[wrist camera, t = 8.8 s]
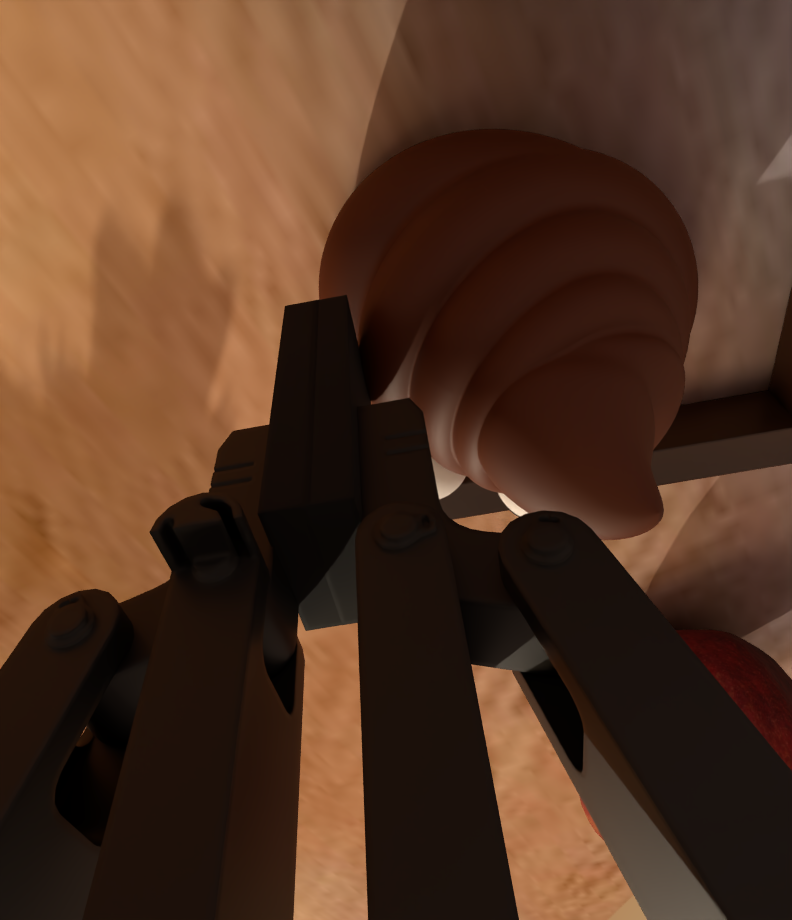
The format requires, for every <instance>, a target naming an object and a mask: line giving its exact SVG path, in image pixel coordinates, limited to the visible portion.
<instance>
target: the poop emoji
mask: <svg viewBox="0 0 792 920" xmlns="http://www.w3.org/2000/svg"><path fill="white" fill-rule="evenodd" d="M342 295H347V298H348V302H349V307H350V311H351V315H352V320H353V324H354V328H355V333H356V337H357V342H358V346H359V351H360V357H361V362H362V367H363V372H364V377H365V381H366V385H367V389H368V393H369V397H370V400H371V404H377V403H382V402H388V401H393V400H399V399H405V398H410V399H411V400H412V401H413V402H414V403H415V404H416V405H417V406H418V407H419V408H420V409H421V410H422V411H423V414H424V420H425V425H426V431H427V436H428V441H429V447H430V452H431V458H432V463H433V469H434V474H435V479H436V485H437V490H438V496H439V499H442V498H444V497H446V496H448V495H450V494H451V493H452V492H454V491H455V490H456V489H457V488H458V487H459V486H460V484H461V483H462V482H463V480H464V479H465V477H466V476H467V477H469V478H470V479H471V480H472V481H473V482H474V483H476V484H477V485H479V486H480V487H482V488H485V489H487V490H490V491H493V492H498V494H499V496H500V498H501V499H502V501H503V502H504V504H505V505H506V507H507V508H508V509H509V510H510V511H511V512H512V513H514V514H515V515H516V516H518V517H520V516H522V515H524V514H527V513H532V512H537V511H542V510H545V511H559V512H564V513H566V514H569V515H572V516H575V517H577V518H579V519H580V520H582V521H583V522H584V523H585V524H587V525H588V526H589V527H590V528H591V529H592V530H593V531H594V532H595V533H596V535H597V536H598V537H599V538H600V539H601V540H617V539H625V538H630V537H634V536H638V535H640V534H643V533H645V532H647V531H649V530H651V529H652V528H654V527H655V526H656V525H657V524H658V523H659V522H660V521H661V519H662V517H663V512H664V508H663V502H662V498H661V495H660V492H659V490H658V487H657V484H656V482H655V479H654V476H653V473H652V470H651V461H652V455H653V450H654V448H655V447H656V446H657V445H658V444H659V442H660V441H661V440H662V438H663V437H664V436H665V434H666V433H667V431H668V430H669V428H670V426H671V425H672V423H673V421H674V419H675V417H676V415H677V412H678V410H679V407H680V404H681V401H682V398H683V393H684V388H685V371H684V366H683V364H684V361H685V357H686V354H687V349H688V344H689V338H690V332H691V329H692V326H693V322H694V318H695V314H696V308H697V299H698V273H697V265H696V259H695V255H694V250H693V247H692V243H691V240H690V237H689V235H688V232H687V230H686V228H685V225H684V223H683V222H682V220H681V218H680V216H679V214H678V213H677V211H676V209H675V208H674V206H673V205H672V204H671V202H670V201H669V200H668V198H667V197H666V196H665V195H664V194H663V192H662V191H661V190H660V189H659V188H658V187H657V186H656V185H655V184H654V183H653V182H651V181H650V180H649V179H648V178H647V177H645V176H644V175H643V174H641V173H640V172H639V171H637V170H636V169H634V168H632V167H631V166H629V165H627V164H625V163H623V162H621V161H620V160H617V159H615V158H613V157H610V156H607V155H605V154H602V153H598V152H595V151H591V150H586V149H581V148H579V147H577V146H574V145H572V144H570V143H567V142H564V141H561V140H558V139H555V138H552V137H548V136H544V135H540V134H536V133H530V132H524V131H517V130H507V129H479V130H469V131H462V132H456V133H451V134H447V135H443V136H439V137H436V138H432V139H430V140H427V141H424V142H422V143H419V144H417V145H414V146H412V147H410V148H408V149H406V150H404V151H402V152H401V153H399V154H397V155H396V156H394V157H392V158H391V159H389V160H388V161H386V162H385V163H384V164H382V165H381V166H380V167H378V168H377V169H376V170H375V171H374V172H372V173H371V174H370V175H369V176H368V177H367V178H366V179H365V180H364V181H363V182H362V183H361V184H360V185H359V186H358V187H357V189H356V190H355V191H354V192H353V193H352V195H351V196H350V197H349V199H348V200H347V201H346V203H345V204H344V206H343V207H342V209H341V211H340V212H339V214H338V216H337V218H336V220H335V222H334V224H333V226H332V228H331V230H330V233H329V236H328V238H327V241H326V244H325V247H324V251H323V255H322V260H321V266H320V274H319V300H321V299H326V298H331V297H337V296H342Z"/></svg>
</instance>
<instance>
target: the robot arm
mask: <svg viewBox="0 0 792 920" xmlns="http://www.w3.org/2000/svg"><path fill="white" fill-rule="evenodd" d="M214 470H215V472H214V473H213V476H212V481H211V488H210V490H209V493H201V494H197V495H194V496H191V497H187V498H185V499H183V500H181V501H179V502H178V503H176V504H174V505H172V506H171V507H169V508H168V509H167V510H166V511H165V512H164V513H163V514H162V515H161V516H160V517H158V518H157V520H156V521H155V523H154V525H153V527H152V529H151V530H150V534H151V536H152V537H153V539H154V541H155V543H156V544H157V546H158V548H159V550H160V552H161V553H162V555H163V557H164V559H165V560H166V562H167V564H168V566H169V567H170V569H171V571H172V572H171V576H170V580H168V581H167V582H166V583H164V584H162V585H160V586H158V587H156V588H154V589H152V590H150V591H147V592H145V593H143V594H140V595H138V596H136V597H133V598H131V599H129V600H126V601H124V602H122V603H118V602H117V600H116V599H115V598H114V597H113V596H112V595H111V594H110V593H109V592H106V591H102V590H98V589H91V590H83V591H78V592H75V593H73V594H71V595H68V596H66V597H63V598H61V599H60V600H58V601H57V602H55V603H54V604H52V605H51V606H50V607H48V608H47V609H45V610H44V611H43V612H42V613H41V614H40V616H39V617H38V618H37V619H36V620H35V621H34V622H33V623H32V624H31V626H30V627H29V629H28V630H27V632H26V633H25V635H24V636H23V637H22V639H21V640H20V642H19V643H18V645H17V646H16V648H15V649H14V650H13V652H12V653H11V655H10V656H9V658H8V659H7V661H6V662H5V663H4V665H3V666H2V668H1V669H0V920H293V914H294V891H295V869H296V846H297V824H298V801H299V779H300V756H301V734H302V711H303V689H304V666H305V659H304V654H303V649H302V646H301V644H300V642H299V639H298V637H297V627H298V613H299V615H300V618H301V620H302V623H303V625H304V627H305V630H306V631H308V630H314V629H320V628H326V627H332V626H338V625H346V624H352V623H358V645H359V673H360V701H361V730H362V758H363V786H364V815H365V843H366V871H367V900H368V920H519V917H518V912H517V907H516V901H515V896H514V891H513V885H512V880H511V875H510V869H509V864H508V859H507V853H506V848H505V843H504V837H503V832H502V827H501V821H500V816H499V810H498V805H497V800H496V794H495V789H494V784H493V778H492V773H491V768H490V762H489V757H488V752H487V746H486V741H485V736H484V730H483V725H482V720H481V714H480V709H479V704H478V698H477V693H476V688H475V682H474V677H473V672H472V666H471V664H473V665H480V666H487V667H494V668H500V669H507V670H512V672H513V674H514V676H515V678H516V680H517V681H518V683H519V685H520V687H521V689H522V691H523V693H524V694H525V696H526V698H527V700H528V702H529V704H530V705H531V707H532V709H533V711H534V713H535V715H536V716H537V718H538V720H539V722H540V724H541V726H542V727H543V729H544V731H545V733H546V735H547V737H548V738H549V740H550V742H551V744H552V746H553V748H554V749H555V751H556V753H557V755H558V757H559V759H560V760H561V762H562V764H563V766H564V768H565V770H566V771H567V773H568V775H569V777H570V779H571V781H572V782H573V784H574V786H575V788H576V790H577V792H578V794H579V795H580V797H581V799H582V801H583V803H584V805H585V806H586V808H587V810H588V812H589V814H590V816H591V817H592V819H593V821H594V823H595V825H596V827H597V828H598V830H599V832H600V834H601V836H602V838H603V839H604V841H605V843H606V845H607V847H608V849H609V850H610V852H611V854H612V856H613V858H614V860H615V861H616V863H617V865H618V867H619V869H620V871H621V872H622V874H623V876H624V878H625V880H626V882H627V883H628V885H629V887H630V889H631V891H632V893H633V894H634V896H635V898H636V900H637V902H638V903H639V905H640V907H641V909H642V911H643V913H644V915H645V916H646V918H647V920H792V771H791V769H790V768H789V767H788V766H787V764H786V763H785V762H784V761H783V760H782V758H781V757H780V756H779V755H778V754H777V752H776V751H775V750H774V749H773V748H772V746H771V745H770V744H769V743H768V741H767V740H766V739H765V738H764V737H763V735H762V734H761V733H760V732H759V731H758V729H757V728H756V727H755V726H754V725H753V723H752V722H751V721H750V720H749V719H748V717H747V716H746V715H745V714H744V712H743V711H742V710H741V709H740V708H739V706H738V705H737V704H736V703H735V702H734V700H733V699H732V698H731V697H730V696H729V694H728V693H727V692H726V691H725V689H724V688H723V687H722V686H721V685H720V683H719V682H718V681H717V680H716V679H715V677H714V676H713V675H712V674H711V673H710V671H709V670H708V669H707V668H706V666H705V665H704V664H703V663H702V662H701V660H700V659H699V658H698V657H697V656H696V654H695V653H694V652H693V651H692V650H691V648H690V647H689V646H688V645H687V643H686V642H685V641H684V640H683V639H682V637H681V636H680V635H679V634H678V633H677V631H676V630H675V629H674V628H673V627H672V625H671V624H670V623H669V622H668V621H667V619H666V618H665V617H664V616H663V614H662V613H661V612H660V611H659V610H658V608H657V607H656V606H655V605H654V604H653V602H652V601H651V600H650V599H649V598H648V596H647V595H646V594H645V593H644V591H643V590H642V589H641V588H640V587H639V585H638V584H637V583H636V582H635V581H634V579H633V578H632V577H631V576H630V575H629V573H628V572H627V571H626V570H625V568H624V567H623V566H622V565H621V564H620V562H619V561H618V560H617V559H616V558H615V556H614V555H613V554H612V553H611V552H610V550H609V549H608V548H607V547H606V545H605V544H604V543H603V542H602V541H601V539H600V538H599V537H598V536H597V535H596V533H595V532H594V531H593V530H592V529H591V528H590V527H589V526H588V525H587V524H585V523H584V522H583V521H582V520H580V519H579V518H577V517H575V516H572V515H569V514H566V513H564V512H559V511H545V510H542V511H537V512H532V513H527V514H524V515H522V516H520V517H519V518H517V519H515V520H513V521H511V522H510V523H509V524H508V525H507V527H506V528H505V529H504V530H503V531H502V533H497V532H485V531H479V530H473V529H469V528H467V527H464V526H462V525H459V524H457V523H456V522H455V521H453V520H452V519H450V518H449V517H448V516H447V514H446V513H445V512H444V511H443V509H442V507H441V504H440V501H439V496H438V490H437V485H436V479H435V474H434V469H433V463H432V458H431V452H430V447H429V441H428V436H427V431H426V425H425V420H424V414H423V411H422V410H421V409H420V408H419V407H418V406H417V405H416V404H415V403H414V402H413V401H412V400H411V399H410V398H405V399H399V400H393V401H388V402H382V403H377V404H371V400H370V397H369V393H368V389H367V385H366V381H365V377H364V372H363V367H362V362H361V357H360V351H359V346H358V342H357V337H356V333H355V328H354V324H353V320H352V315H351V311H350V307H349V302H348V298H347V295H342V296H337V297H331V298H326V299H321V300H315V301H309V302H304V303H299V304H293V305H288V306H285V310H284V317H283V325H282V333H281V340H280V348H279V355H278V363H277V370H276V378H275V385H274V393H273V400H272V408H271V416H270V423H269V425H264V426H258V427H253V428H247V429H242V430H236V431H233V432H232V433H231V434H230V435H229V437H228V438H227V439H226V441H225V442H224V443H223V444H222V446H221V447H220V448H219V450H218V454H217V458H216V463H215V467H214ZM85 727H86V729H85ZM84 729H85V731H84ZM83 731H84V733H83ZM82 733H83V734H82ZM81 735H82V736H81Z"/></svg>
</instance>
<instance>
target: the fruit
mask: <svg viewBox="0 0 792 920" xmlns="http://www.w3.org/2000/svg"><path fill="white" fill-rule="evenodd" d="M676 631H677V633H678V634H679V635H680V636H681V637H682V639H683V640H684V641H685V642H686V643H687V645H688V646H689V647H690V648H691V650H692V651H693V652H694V653H695V654H696V656H697V657H698V658H699V659H700V660H701V662H702V663H703V664H704V665H705V666H706V668H707V669H708V670H709V671H710V673H711V674H712V675H713V676H714V677H715V679H716V680H717V681H718V682H719V683H720V685H721V686H722V687H723V688H724V689H725V691H726V692H727V693H728V694H729V696H730V697H731V698H732V699H733V700H734V702H735V703H736V704H737V705H738V706H739V708H740V709H741V710H742V711H743V712H744V714H745V715H746V716H747V717H748V719H749V720H750V721H751V722H752V723H753V725H754V726H755V727H756V728H757V729H758V731H759V732H760V733H761V734H762V735H763V737H764V738H765V739H766V740H767V741H768V743H769V744H770V745H771V746H772V748H773V749H774V750H775V751H776V752H777V754H778V755H779V756H780V757H781V758H782V760H783V761H784V762H785V763H786V764H787V766H788V767H789V768H790V769H791V771H792V680H791V678H790V677H789V676H788V675H787V674H786V673H785V671H784V670H783V669H782V668H781V667H780V666H779V665H778V664H777V662H776V661H775V660H774V659H773V658H771V657H770V656H769V655H767V654H766V653H764V652H763V651H762V650H760V649H759V648H757V647H756V646H754V645H752V644H750V643H749V642H747V641H745V640H743V639H741V638H739V637H737V636H735V635H733V634H730V633H727V632H723V631H717V630H692V629H686V630H676ZM579 796H580V795H579ZM580 800H581V805H582V807H583V809H584V811H585V814H586V816H587V818H588V820H589V822H590V824H591V825H592V827H593V828H594V830H595V832H596V833H597V834H598V835H599V836H600V837H601V838H602V836H601V834H600V832H599V830H598V828H597V827H596V825H595V823H594V821H593V819H592V817H591V816H590V814H589V812H588V810H587V808H586V806H585V805H584V803H583V801H582V799H581V797H580ZM602 839H603V838H602ZM603 840H604V839H603Z"/></svg>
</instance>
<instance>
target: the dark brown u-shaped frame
mask: <svg viewBox="0 0 792 920" xmlns="http://www.w3.org/2000/svg"><path fill="white" fill-rule="evenodd" d="M786 464H792V289H791V293H790V298H789V302H788V307H787V311H786V316H785V320H784V324H783V329H782V333H781V338H780V342H779V347H778V351H777V355H776V360H775V364H774V369H773V373H772V378H771V382H770V386H769V391H764V392H758V393H752V394H747V395H741V396H735V397H729V398H723V399H717V400H712V401H706V402H700V403H694V404H688V405H683V406H680V407H679V410H678V412H677V415H676V417H675V419H674V421H673V423H672V425H671V426H670V428H669V430H668V431H667V433H666V434H665V436H664V437H663V438H662V440H661V441H660V442H659V444H658V445H657V446H656V447H655V448H654V450H653V455H652V461H651V470H652V473H653V476H654V479H655V482H656V484H657V486H659V485H665V484H671V483H677V482H683V481H689V480H695V479H701V478H707V477H713V476H719V475H725V474H731V473H737V472H743V471H749V470H755V469H761V468H767V467H774V466H780V465H786ZM439 501H440V504H441V507H442V509H443V511H444V512H445V513H446V514H447V516H448V517H449V518H450V519H452V520H453V519H459V518H465V517H471V516H477V515H483V514H489V513H495V512H501V511H507V510H509V509H508V508H507V507H506V505H505V504H504V502H503V501H502V499H501V498H500V496H499V494H498V492H493V491H490V490H487V489H485V488H482V487H480V486H479V485H477V484H476V483H474V482H473V481H472V480H471V479H470V478H469V477H467V476H466V477H465V479H464V480H463V482H462V483H461V484H460V486H459V487H458V488H457V489H456V490H455V491H454V492H452V493H451V494H450V495H448V496H446V497H444V498H442V499H439Z"/></svg>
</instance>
